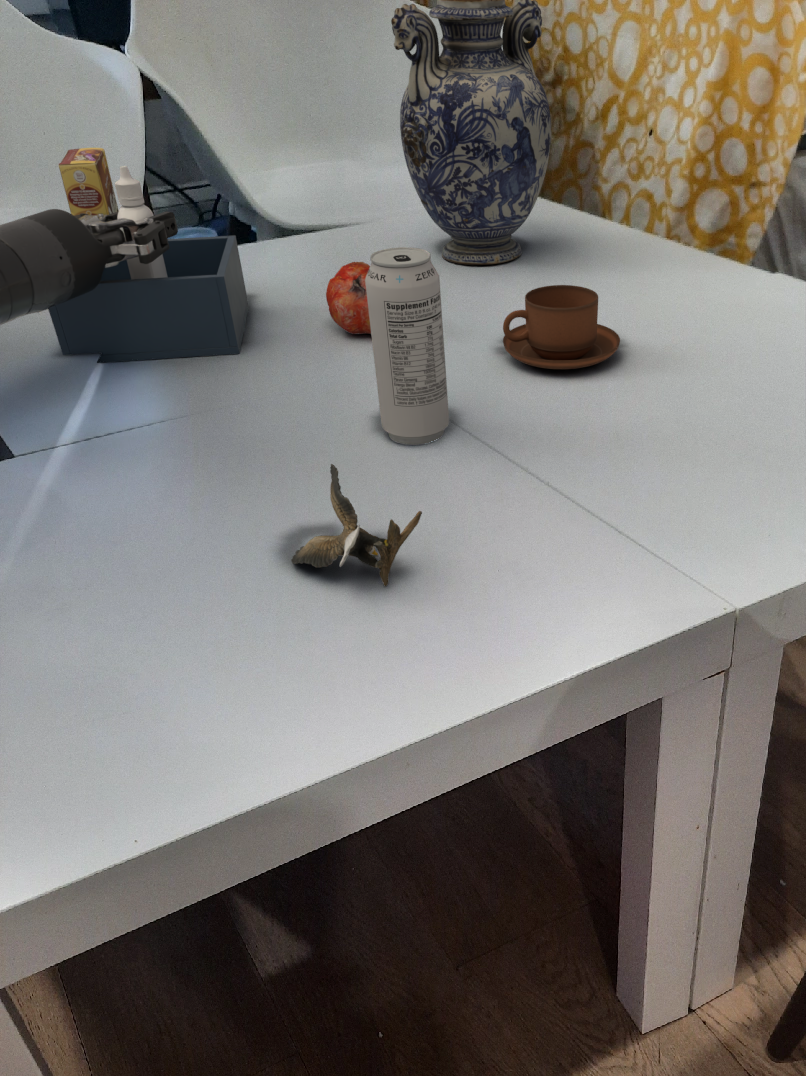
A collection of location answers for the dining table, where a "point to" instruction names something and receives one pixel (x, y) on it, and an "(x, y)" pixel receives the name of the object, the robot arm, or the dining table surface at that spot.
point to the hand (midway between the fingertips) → (153, 220)
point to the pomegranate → (350, 298)
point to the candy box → (88, 182)
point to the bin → (161, 307)
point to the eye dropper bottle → (136, 210)
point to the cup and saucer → (560, 329)
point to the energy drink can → (408, 344)
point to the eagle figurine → (353, 538)
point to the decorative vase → (474, 122)
